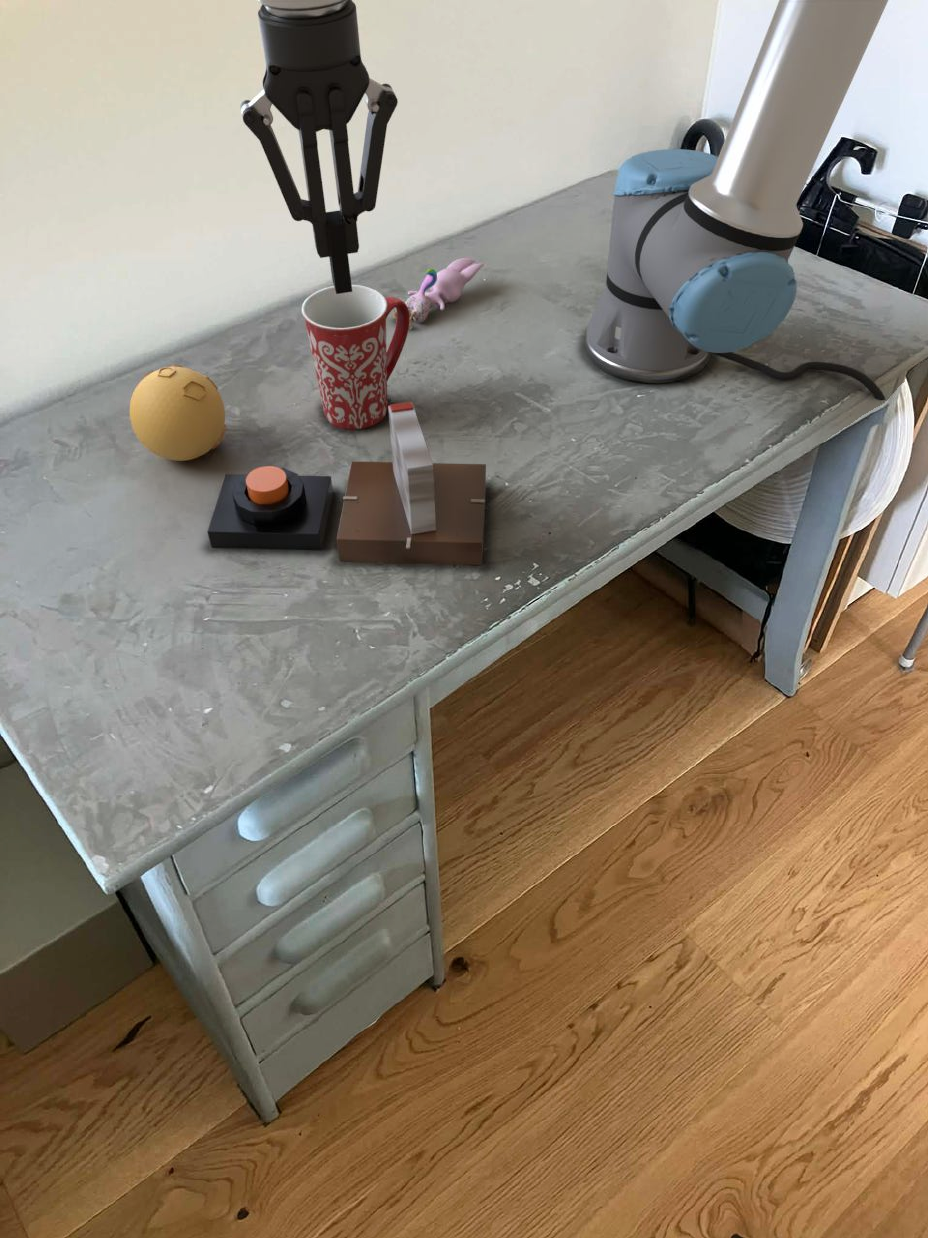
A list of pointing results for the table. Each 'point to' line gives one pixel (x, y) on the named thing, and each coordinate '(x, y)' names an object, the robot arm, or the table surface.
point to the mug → (354, 352)
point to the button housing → (272, 515)
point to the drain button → (267, 485)
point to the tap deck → (382, 526)
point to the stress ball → (177, 413)
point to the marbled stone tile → (412, 467)
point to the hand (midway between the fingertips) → (342, 285)
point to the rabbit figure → (440, 288)
